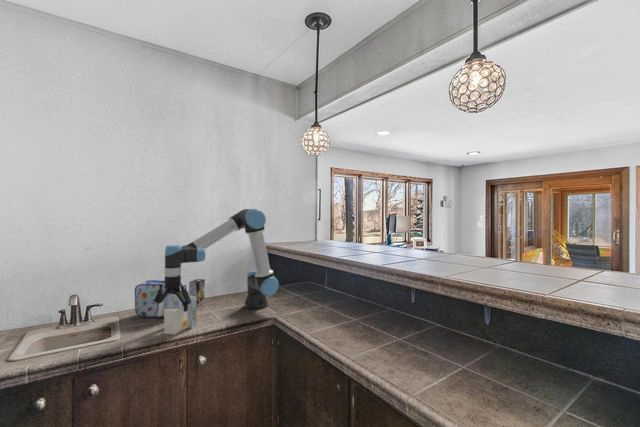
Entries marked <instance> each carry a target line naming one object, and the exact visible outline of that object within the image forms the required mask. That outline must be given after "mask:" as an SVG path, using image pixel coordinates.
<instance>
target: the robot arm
mask: <svg viewBox="0 0 640 427" xmlns="http://www.w3.org/2000/svg"><path fill="white" fill-rule="evenodd" d="M266 220H267V217H266V215H265V213H264V212H263V211H262V210H260V209H257V208H246V209H242V210H240V211H238V212H236V213H235V214H233V215H232V216H230V217H229V218H228V220H227V221H224V222H223V223H222V224H220V225H219V226H217V227H215V228H213V229H211V230H210V231H208V232H206V233H204V234H203V235H201V236H200V237H198V238H196V239H195V240H193V241H191V242H189V243H188V244H186V245H182V246H181V245H180V244H171V245H167V246H165V249H164V281H165V284H161V285H160V287H159V290H158V293H157V295H156V297H155V299H154V302H157V303H158V309H159V313H158V316H162V315H164V302H163V300H164V299H165V297H166V296H167V295H168V294H175V295H177V297H178V298H179V299H180V301H181V302H182V304H183V305H182V319H183V318H185V317H186V316H187V310H188V304H190V303H191V300H190V297H189V291H188V290H187V286H186V285H185V284H184V285H183V284H182V285H183V286H181V285H180V282H181V283H182V276H181V275H182V264H187V263H200V262H204V261H205V259H206V249H208V248H209V247H211V246H213V245H214V244H216V243H217V242H219V241H221V240H222V239H224V238H225V237H227V236H229V235H231V234H233V233H234V232H235V231H236V232H238V231H240V230H242V229H244V232H245V234H247V236H248V237H249V238H248V239H249V242H250V248H251V252H252V257H253V262H254V266H255V267H254V268H255V270H251V271H248V272H247V276H246V278H247V283H246V284H247V286H246V287H247V289H246V290H247V292H246V294H247V295H246V298H245V300H244V307H245V308H246V309H249V310H258V309H264V308H266V307H268V305H269V300H268V298H267V296H268V297H269V296H272V295H274V294H275V293H277V290H278V289H279V286H280V283H279V280H278V279H277V278H276V277H275V275H274V274H275V273H274V270H273V269H271V266H270V260H269V257H268V252H267V246H266V242H265V236H264V232H265V230H266V229H265V224H266V222H267V221H266ZM164 288H165V289H166V290H165V291H164ZM163 291H164V293H163ZM162 293H163V295H162ZM161 295H162V296H161Z"/></svg>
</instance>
